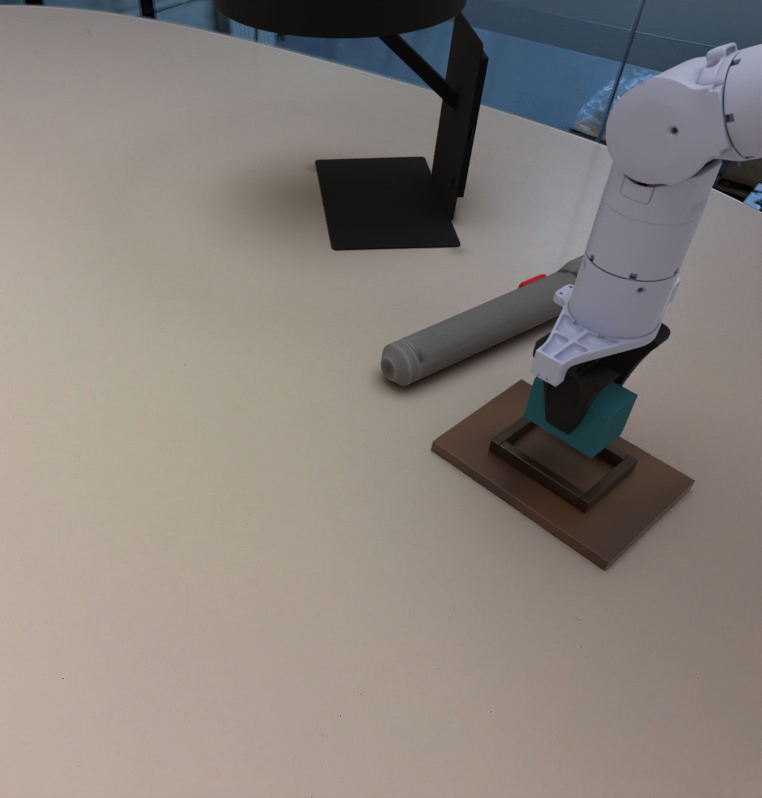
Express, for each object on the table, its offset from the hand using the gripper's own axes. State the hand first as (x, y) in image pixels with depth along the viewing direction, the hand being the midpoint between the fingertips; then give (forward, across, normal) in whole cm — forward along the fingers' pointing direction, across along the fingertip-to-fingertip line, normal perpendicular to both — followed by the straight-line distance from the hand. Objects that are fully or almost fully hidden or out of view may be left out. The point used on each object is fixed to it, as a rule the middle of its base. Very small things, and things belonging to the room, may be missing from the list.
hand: (577, 411), depth 61 cm
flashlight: (+6, -11, -14) cm, 19 cm away
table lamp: (+6, -18, -43) cm, 47 cm away
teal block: (+1, 0, 0) cm, 1 cm away
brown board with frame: (+6, 0, 0) cm, 6 cm away
